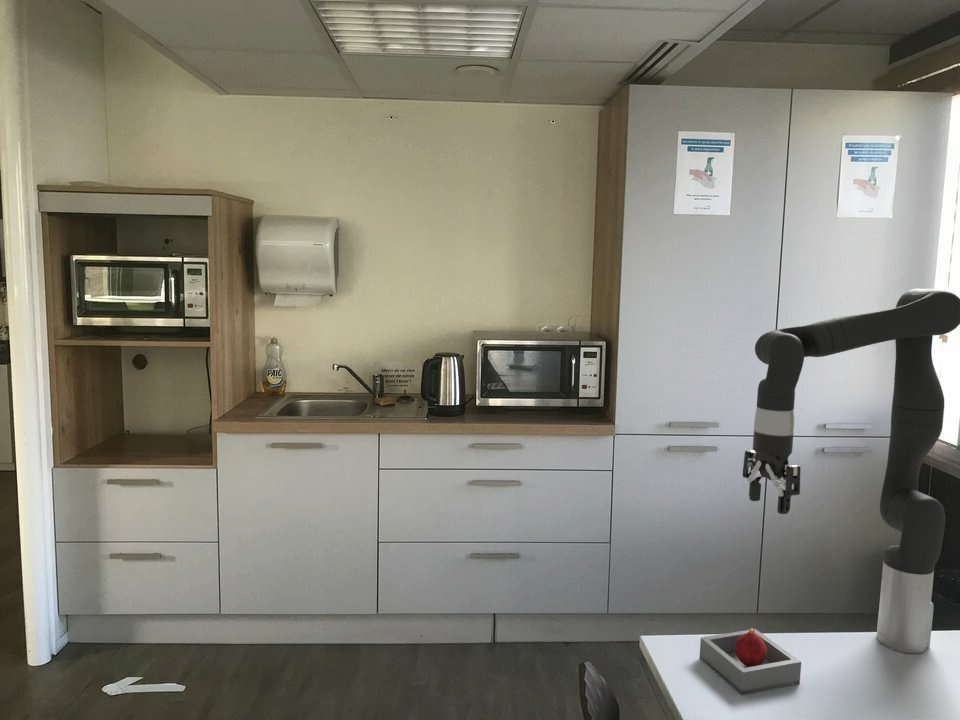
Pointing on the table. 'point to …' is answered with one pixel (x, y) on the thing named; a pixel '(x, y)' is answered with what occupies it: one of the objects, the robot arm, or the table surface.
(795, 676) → the box
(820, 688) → the table surface
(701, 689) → the table surface
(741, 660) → the pomegranate
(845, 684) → the table surface
